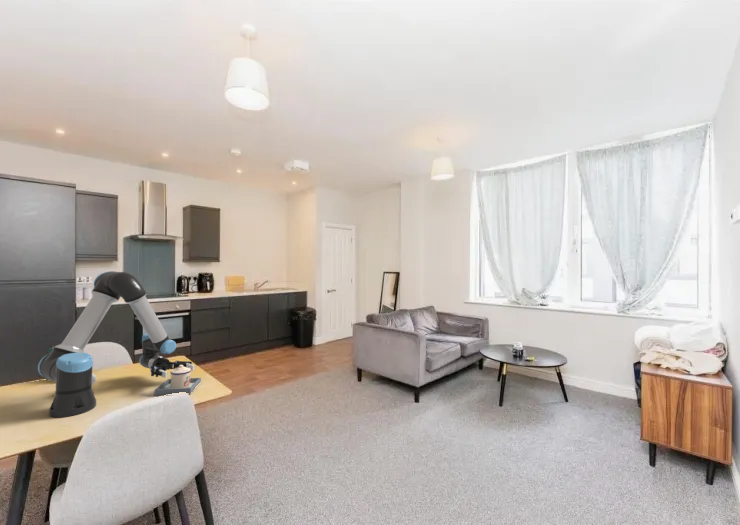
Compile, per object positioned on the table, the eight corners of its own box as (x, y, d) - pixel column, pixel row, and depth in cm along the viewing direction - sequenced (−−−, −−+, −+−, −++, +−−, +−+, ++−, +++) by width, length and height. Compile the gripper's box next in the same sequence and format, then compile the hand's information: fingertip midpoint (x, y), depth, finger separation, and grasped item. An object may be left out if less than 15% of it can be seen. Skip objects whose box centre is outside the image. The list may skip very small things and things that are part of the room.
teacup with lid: (187, 390, 163) (188, 367, 163) (167, 392, 161) (167, 368, 161) (194, 382, 175) (194, 360, 175) (175, 383, 172) (176, 361, 173)
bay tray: (190, 394, 161) (190, 388, 161) (154, 396, 158) (154, 389, 158) (201, 383, 176) (201, 377, 176) (168, 384, 173) (168, 378, 173)
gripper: (182, 365, 188) (203, 372, 177) (133, 377, 167) (153, 386, 156) (182, 352, 188) (204, 358, 177) (133, 362, 167) (154, 370, 156)
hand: (180, 371), depth 166 cm, fingers open, 13 cm apart
